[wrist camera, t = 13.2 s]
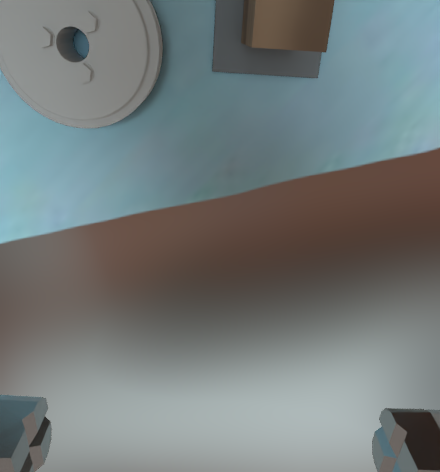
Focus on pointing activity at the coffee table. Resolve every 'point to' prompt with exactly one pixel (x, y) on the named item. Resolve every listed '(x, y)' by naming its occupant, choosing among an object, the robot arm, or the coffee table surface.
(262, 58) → the rubber pad
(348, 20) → the coffee table surface
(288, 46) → the walnut block
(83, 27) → the grey round disc
